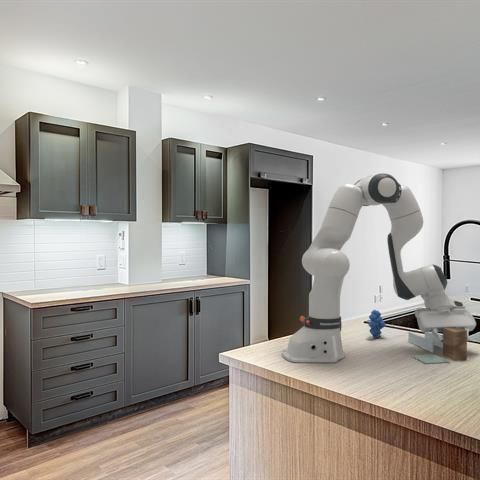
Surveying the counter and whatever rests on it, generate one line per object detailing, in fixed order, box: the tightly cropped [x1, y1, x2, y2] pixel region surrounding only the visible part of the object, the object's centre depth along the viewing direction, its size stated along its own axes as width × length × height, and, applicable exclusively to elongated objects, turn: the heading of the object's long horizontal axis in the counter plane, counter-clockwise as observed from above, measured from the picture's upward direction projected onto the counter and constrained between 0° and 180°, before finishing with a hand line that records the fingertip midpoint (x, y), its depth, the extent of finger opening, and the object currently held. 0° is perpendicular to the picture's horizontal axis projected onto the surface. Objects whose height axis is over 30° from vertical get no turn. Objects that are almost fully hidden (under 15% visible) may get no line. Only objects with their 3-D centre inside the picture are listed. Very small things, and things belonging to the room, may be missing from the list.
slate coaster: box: [410, 353, 451, 365], centre depth 151 cm, size 9×9×1 cm
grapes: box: [368, 309, 387, 339], centre depth 182 cm, size 12×7×12 cm, turn 143°
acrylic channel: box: [407, 331, 443, 353], centre depth 169 cm, size 8×16×4 cm, turn 9°
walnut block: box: [442, 328, 468, 362], centre depth 153 cm, size 5×6×10 cm
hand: (454, 340), depth 154 cm, fingers open, 8 cm apart
